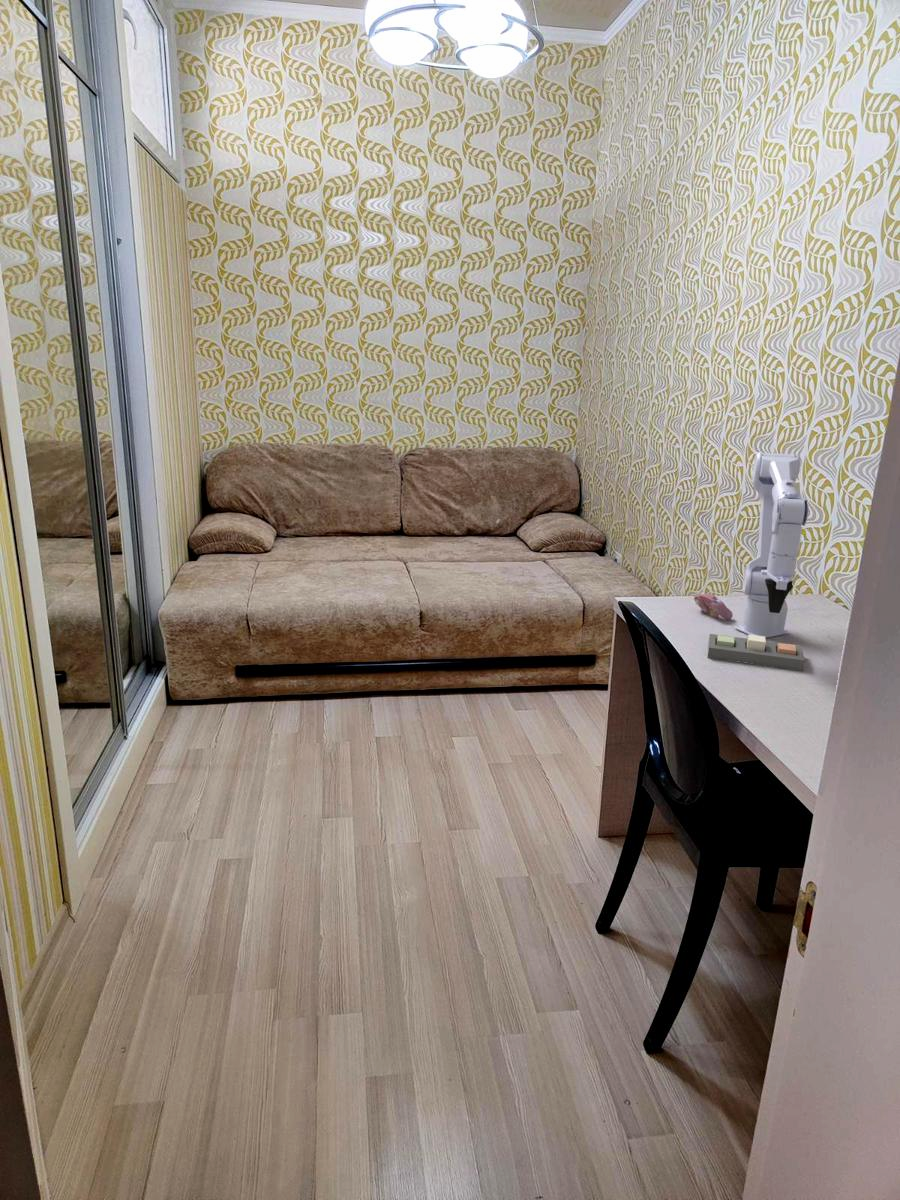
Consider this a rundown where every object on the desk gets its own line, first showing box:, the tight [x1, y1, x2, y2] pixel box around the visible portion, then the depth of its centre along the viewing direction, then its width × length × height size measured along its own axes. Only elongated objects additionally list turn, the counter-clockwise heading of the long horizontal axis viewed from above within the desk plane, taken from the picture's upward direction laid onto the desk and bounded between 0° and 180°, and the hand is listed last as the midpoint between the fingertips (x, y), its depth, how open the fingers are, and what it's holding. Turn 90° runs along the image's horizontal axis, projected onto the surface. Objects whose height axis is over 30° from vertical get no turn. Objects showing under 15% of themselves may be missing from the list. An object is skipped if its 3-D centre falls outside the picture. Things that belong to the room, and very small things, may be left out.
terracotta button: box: [776, 642, 796, 655], centre depth 178 cm, size 4×4×3 cm
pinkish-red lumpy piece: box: [693, 591, 734, 620], centre depth 206 cm, size 10×5×7 cm, turn 24°
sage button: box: [716, 634, 735, 647], centre depth 182 cm, size 4×4×3 cm
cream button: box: [746, 634, 767, 651], centre depth 180 cm, size 4×4×3 cm
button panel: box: [707, 633, 806, 672], centre depth 180 cm, size 20×9×2 cm, turn 72°
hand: (774, 612), depth 178 cm, fingers closed
